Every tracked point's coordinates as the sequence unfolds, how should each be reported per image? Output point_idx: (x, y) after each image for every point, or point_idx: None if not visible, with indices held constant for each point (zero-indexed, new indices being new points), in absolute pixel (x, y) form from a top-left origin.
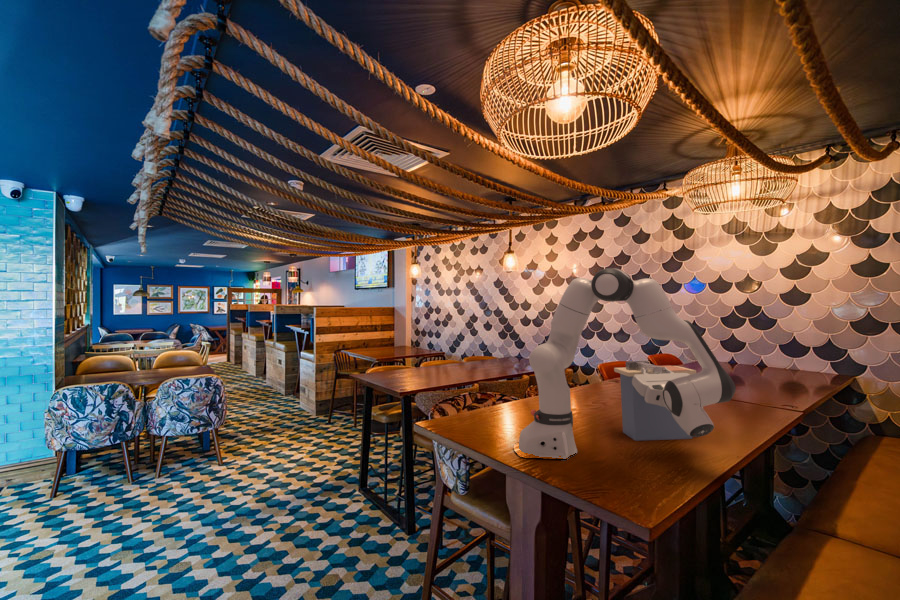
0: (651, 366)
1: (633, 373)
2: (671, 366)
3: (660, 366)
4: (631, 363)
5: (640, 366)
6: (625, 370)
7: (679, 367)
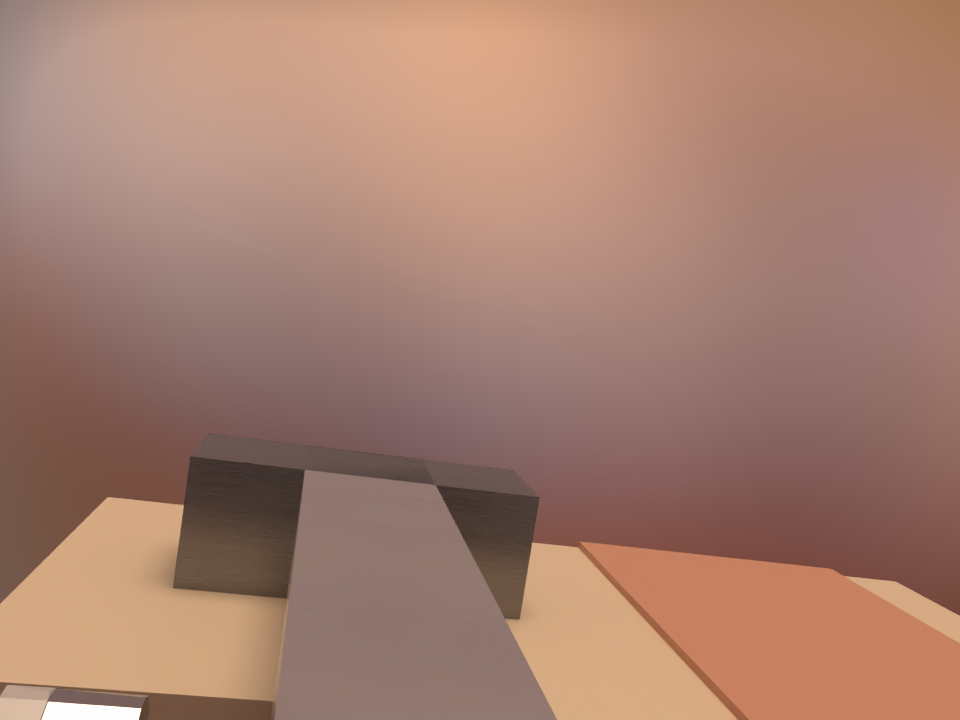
0: (299, 701)
1: None
2: (840, 591)
3: (710, 569)
4: (229, 478)
5: (291, 568)
6: (86, 585)
7: (939, 626)
